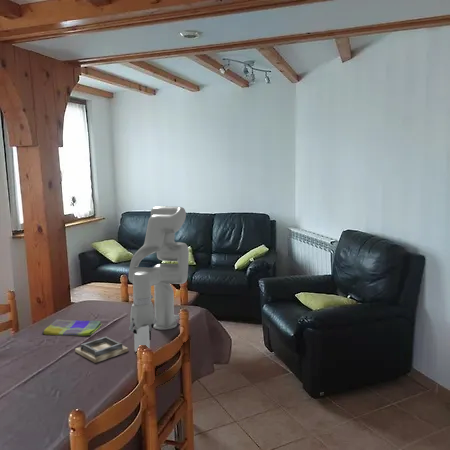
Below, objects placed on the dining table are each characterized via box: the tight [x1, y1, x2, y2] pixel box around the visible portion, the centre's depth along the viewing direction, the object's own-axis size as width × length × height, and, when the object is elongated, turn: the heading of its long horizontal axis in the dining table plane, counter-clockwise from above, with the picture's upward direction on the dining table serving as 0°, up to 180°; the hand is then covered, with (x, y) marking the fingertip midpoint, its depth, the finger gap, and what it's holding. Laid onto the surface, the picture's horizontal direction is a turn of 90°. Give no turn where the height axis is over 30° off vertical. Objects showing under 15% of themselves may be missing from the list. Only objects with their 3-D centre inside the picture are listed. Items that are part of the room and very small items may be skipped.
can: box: [133, 325, 151, 353], centre depth 194 cm, size 6×6×12 cm
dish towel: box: [42, 318, 103, 337], centre depth 220 cm, size 18×24×3 cm
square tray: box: [74, 335, 129, 364], centre depth 193 cm, size 16×16×4 cm
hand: (143, 340), depth 195 cm, fingers closed on can, 4 cm apart
